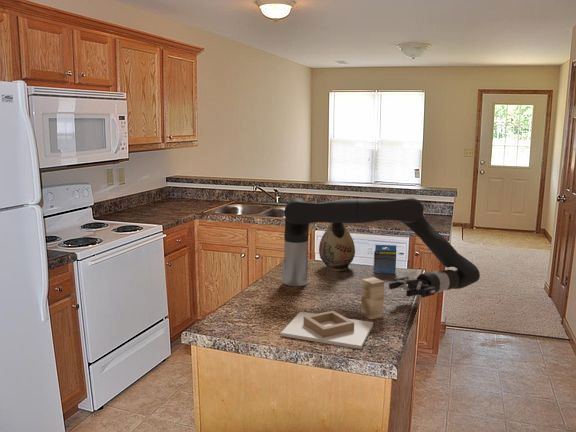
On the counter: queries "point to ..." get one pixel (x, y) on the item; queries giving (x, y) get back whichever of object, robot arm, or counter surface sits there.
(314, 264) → the counter surface
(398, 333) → the counter surface
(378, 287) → the maple peg
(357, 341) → the socket board
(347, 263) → the ceramic jug
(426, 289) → the robot arm
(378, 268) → the label tape cartridge
